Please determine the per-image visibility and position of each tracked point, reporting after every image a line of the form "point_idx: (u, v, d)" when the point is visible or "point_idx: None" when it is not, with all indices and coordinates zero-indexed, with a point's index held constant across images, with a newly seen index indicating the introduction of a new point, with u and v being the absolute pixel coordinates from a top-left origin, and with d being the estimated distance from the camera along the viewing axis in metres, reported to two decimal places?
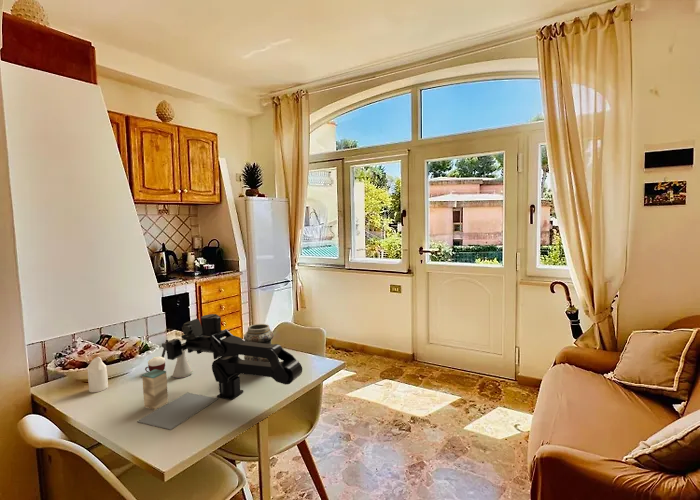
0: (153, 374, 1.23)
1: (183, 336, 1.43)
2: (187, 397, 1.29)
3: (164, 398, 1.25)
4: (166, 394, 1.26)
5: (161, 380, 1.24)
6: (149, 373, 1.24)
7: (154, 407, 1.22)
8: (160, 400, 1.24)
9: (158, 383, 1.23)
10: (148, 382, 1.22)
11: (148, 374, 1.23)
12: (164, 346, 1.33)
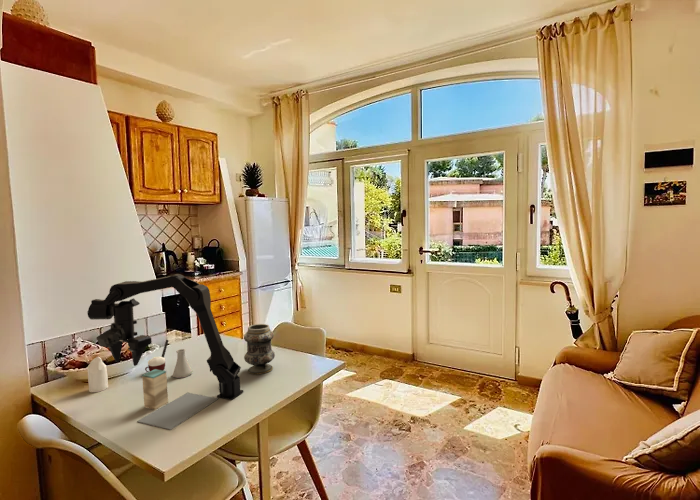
0: (153, 374, 1.23)
1: (116, 359, 1.31)
2: (187, 397, 1.29)
3: (164, 398, 1.25)
4: (166, 394, 1.26)
5: (161, 380, 1.24)
6: (149, 373, 1.24)
7: (154, 407, 1.22)
8: (160, 400, 1.24)
9: (158, 383, 1.23)
10: (148, 382, 1.22)
11: (148, 374, 1.23)
12: (137, 359, 1.27)
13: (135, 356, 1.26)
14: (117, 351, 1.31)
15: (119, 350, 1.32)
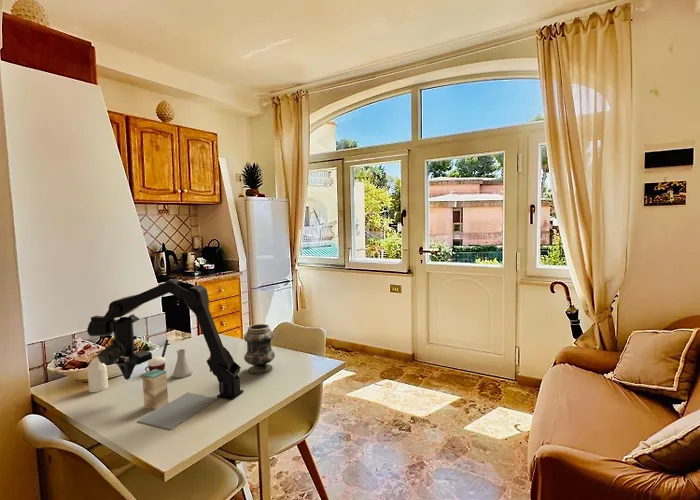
0: (153, 374, 1.23)
1: None
2: (187, 397, 1.29)
3: (164, 398, 1.25)
4: (166, 394, 1.26)
5: (161, 380, 1.24)
6: (149, 373, 1.24)
7: (154, 407, 1.22)
8: (160, 400, 1.24)
9: (158, 383, 1.23)
10: (148, 382, 1.22)
11: (148, 374, 1.23)
12: (129, 373, 1.29)
13: (127, 370, 1.28)
14: None
15: None
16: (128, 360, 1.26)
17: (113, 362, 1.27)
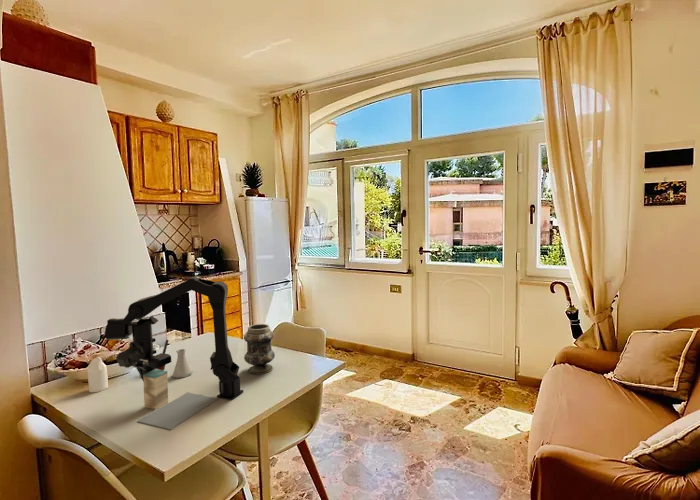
0: (154, 374, 1.23)
1: None
2: (187, 397, 1.29)
3: (164, 398, 1.25)
4: (166, 394, 1.26)
5: (162, 380, 1.24)
6: (150, 373, 1.24)
7: (154, 407, 1.22)
8: (160, 400, 1.24)
9: (159, 383, 1.23)
10: (149, 382, 1.22)
11: (149, 374, 1.23)
12: None
13: (145, 373, 1.25)
14: None
15: None
16: (147, 363, 1.23)
17: (132, 365, 1.24)
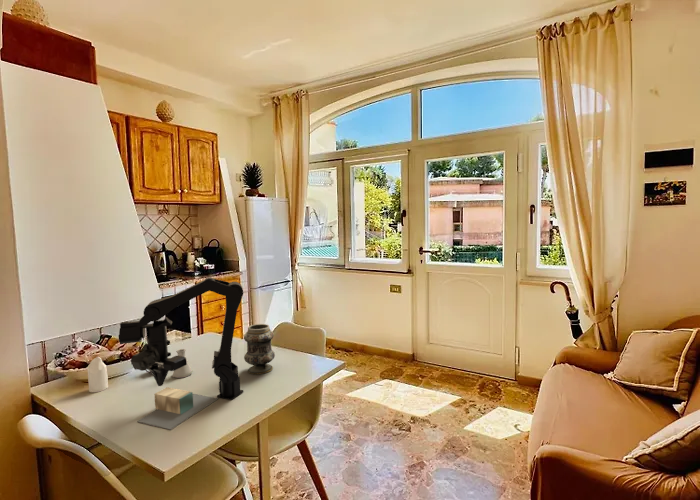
0: (184, 406, 1.19)
1: None
2: None
3: None
4: None
5: None
6: (184, 400, 1.19)
7: (156, 407, 1.22)
8: None
9: None
10: (175, 406, 1.19)
11: (183, 402, 1.19)
12: (162, 380, 1.24)
13: (160, 376, 1.22)
14: None
15: None
16: (162, 366, 1.21)
17: (146, 368, 1.22)
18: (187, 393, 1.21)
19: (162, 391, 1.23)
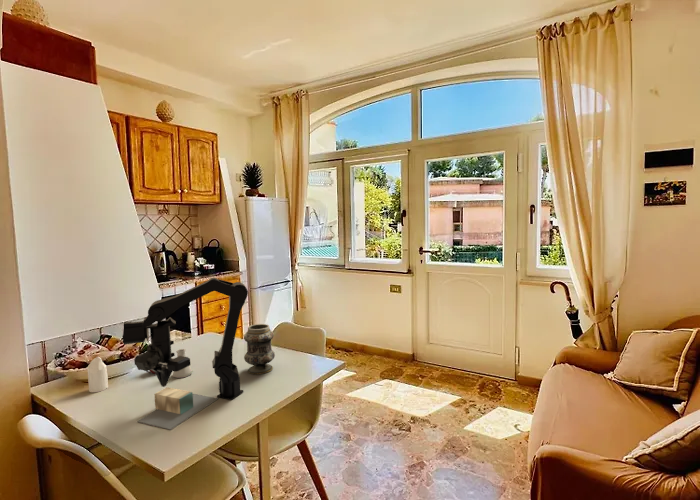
0: (184, 406, 1.19)
1: None
2: None
3: None
4: None
5: None
6: (184, 400, 1.19)
7: (156, 407, 1.22)
8: None
9: None
10: (175, 406, 1.19)
11: (183, 402, 1.19)
12: (166, 380, 1.23)
13: (164, 377, 1.22)
14: None
15: None
16: (166, 366, 1.20)
17: (150, 368, 1.21)
18: (187, 393, 1.21)
19: (162, 391, 1.23)
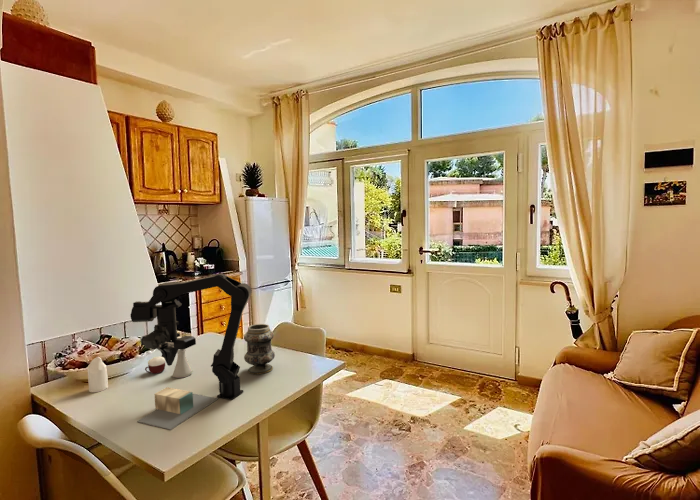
0: (184, 406, 1.19)
1: None
2: None
3: None
4: None
5: None
6: (184, 400, 1.19)
7: (156, 407, 1.22)
8: None
9: None
10: (175, 406, 1.19)
11: (183, 402, 1.19)
12: (172, 359, 1.28)
13: (170, 356, 1.27)
14: None
15: None
16: (172, 345, 1.25)
17: (156, 348, 1.26)
18: (187, 393, 1.21)
19: (162, 391, 1.23)
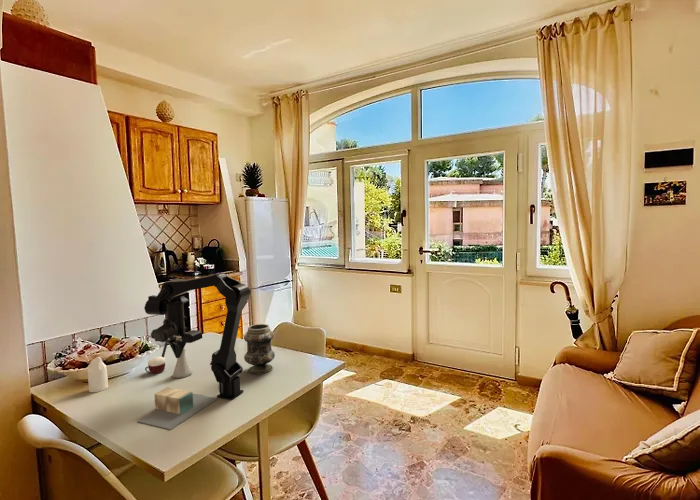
0: (184, 406, 1.19)
1: None
2: None
3: None
4: None
5: None
6: (184, 400, 1.19)
7: (156, 407, 1.22)
8: None
9: None
10: (175, 406, 1.19)
11: (183, 402, 1.19)
12: (180, 352, 1.34)
13: (178, 349, 1.33)
14: None
15: None
16: (180, 339, 1.32)
17: (165, 341, 1.32)
18: (187, 393, 1.21)
19: (162, 391, 1.23)
